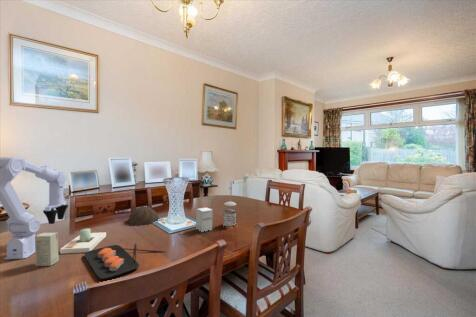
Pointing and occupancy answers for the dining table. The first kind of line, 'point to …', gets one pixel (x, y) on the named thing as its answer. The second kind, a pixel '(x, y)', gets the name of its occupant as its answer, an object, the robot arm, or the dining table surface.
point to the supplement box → (204, 219)
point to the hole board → (83, 244)
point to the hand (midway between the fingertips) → (56, 221)
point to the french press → (231, 211)
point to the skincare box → (46, 249)
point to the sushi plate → (112, 261)
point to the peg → (85, 235)
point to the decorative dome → (143, 216)
